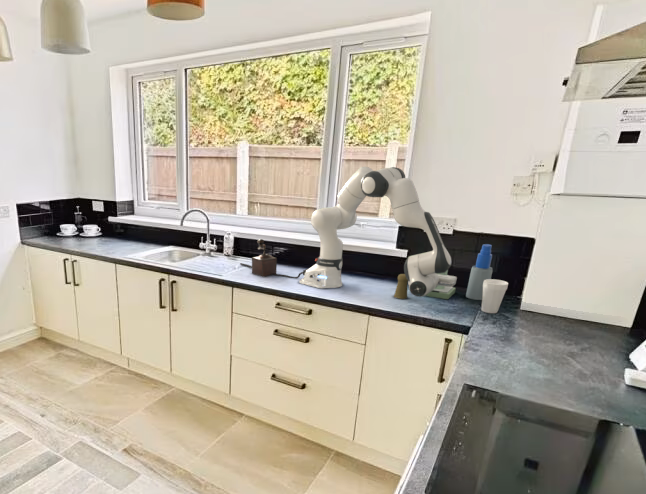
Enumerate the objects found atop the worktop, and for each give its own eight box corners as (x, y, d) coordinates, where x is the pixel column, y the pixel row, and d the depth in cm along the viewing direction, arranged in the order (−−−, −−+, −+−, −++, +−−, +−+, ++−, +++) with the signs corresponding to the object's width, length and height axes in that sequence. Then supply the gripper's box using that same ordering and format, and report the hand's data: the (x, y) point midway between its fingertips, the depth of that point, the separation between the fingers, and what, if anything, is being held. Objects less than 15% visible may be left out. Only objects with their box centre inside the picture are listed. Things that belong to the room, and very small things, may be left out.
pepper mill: (277, 274, 259) (279, 242, 252) (262, 277, 253) (263, 244, 246) (260, 269, 270) (261, 238, 263) (245, 271, 264) (246, 240, 257)
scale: (417, 294, 223) (418, 288, 222) (425, 288, 234) (426, 282, 232) (447, 299, 216) (448, 293, 214) (454, 292, 226) (456, 286, 225)
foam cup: (499, 308, 203) (506, 280, 198) (503, 315, 195) (510, 285, 190) (476, 306, 206) (482, 278, 200) (478, 312, 198) (485, 283, 192)
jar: (429, 287, 223) (433, 265, 218) (433, 285, 227) (437, 263, 223) (442, 289, 219) (446, 267, 215) (445, 287, 224) (449, 265, 219)
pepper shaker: (405, 295, 221) (409, 273, 217) (408, 299, 215) (412, 276, 211) (392, 294, 221) (396, 272, 217) (395, 298, 216) (398, 275, 212)
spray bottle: (469, 293, 225) (480, 242, 215) (488, 297, 219) (500, 244, 209) (463, 297, 219) (473, 244, 209) (482, 301, 213) (494, 247, 203)
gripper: (454, 277, 198) (461, 271, 208) (406, 271, 209) (415, 265, 219) (451, 291, 201) (458, 285, 211) (404, 284, 212) (413, 278, 222)
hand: (436, 275), depth 215 cm, fingers open, 8 cm apart
